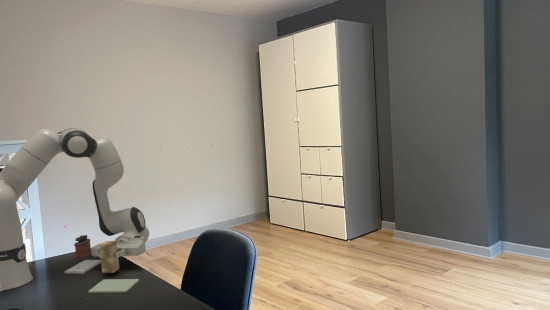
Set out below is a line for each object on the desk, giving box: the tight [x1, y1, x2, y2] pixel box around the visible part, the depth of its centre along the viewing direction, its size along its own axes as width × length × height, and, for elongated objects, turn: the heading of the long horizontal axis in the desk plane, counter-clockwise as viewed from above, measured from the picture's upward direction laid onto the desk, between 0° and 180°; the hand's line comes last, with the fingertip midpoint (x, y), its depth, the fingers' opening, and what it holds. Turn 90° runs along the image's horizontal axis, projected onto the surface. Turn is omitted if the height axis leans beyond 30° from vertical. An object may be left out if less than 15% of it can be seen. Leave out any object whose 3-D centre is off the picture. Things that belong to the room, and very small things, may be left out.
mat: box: [87, 278, 140, 294], centre depth 148 cm, size 14×10×1 cm
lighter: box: [73, 234, 93, 262], centre depth 183 cm, size 8×3×10 cm, turn 162°
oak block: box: [99, 240, 120, 274], centre depth 159 cm, size 4×4×11 cm
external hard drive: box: [64, 259, 101, 275], centre depth 170 cm, size 2×8×12 cm
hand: (108, 256), depth 158 cm, fingers closed on oak block, 4 cm apart
